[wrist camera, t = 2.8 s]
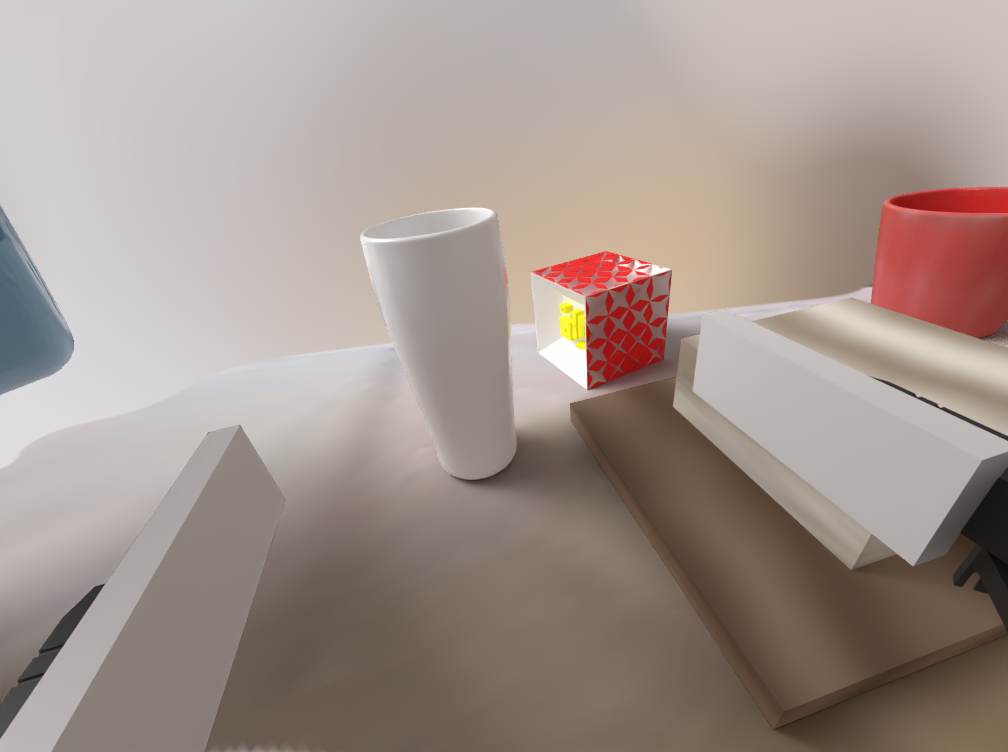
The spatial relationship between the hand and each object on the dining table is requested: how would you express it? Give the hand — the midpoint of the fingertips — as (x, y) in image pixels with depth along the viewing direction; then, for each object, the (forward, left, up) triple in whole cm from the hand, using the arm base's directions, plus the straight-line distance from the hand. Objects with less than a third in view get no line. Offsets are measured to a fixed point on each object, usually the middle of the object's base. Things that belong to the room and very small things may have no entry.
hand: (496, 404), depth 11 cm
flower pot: (+40, +13, -12) cm, 43 cm away
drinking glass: (0, +11, -12) cm, 16 cm away
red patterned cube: (+12, +20, -12) cm, 26 cm away
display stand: (+19, +3, -11) cm, 22 cm away
